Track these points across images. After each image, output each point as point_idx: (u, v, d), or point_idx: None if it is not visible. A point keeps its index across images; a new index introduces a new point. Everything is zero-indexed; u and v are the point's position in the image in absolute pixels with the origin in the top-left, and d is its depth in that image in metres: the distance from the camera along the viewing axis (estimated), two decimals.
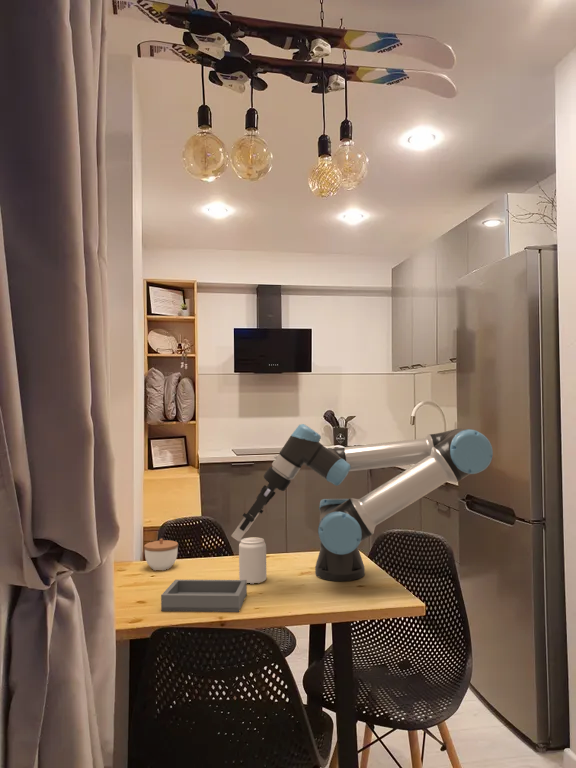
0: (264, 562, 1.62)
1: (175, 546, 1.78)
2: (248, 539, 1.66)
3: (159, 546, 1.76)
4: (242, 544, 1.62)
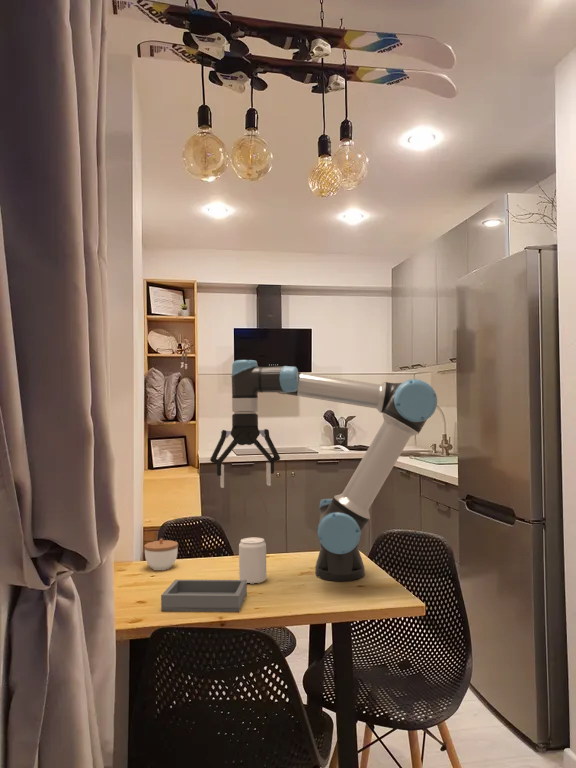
0: (264, 562, 1.62)
1: (175, 546, 1.78)
2: (248, 539, 1.66)
3: (159, 546, 1.76)
4: (242, 544, 1.62)
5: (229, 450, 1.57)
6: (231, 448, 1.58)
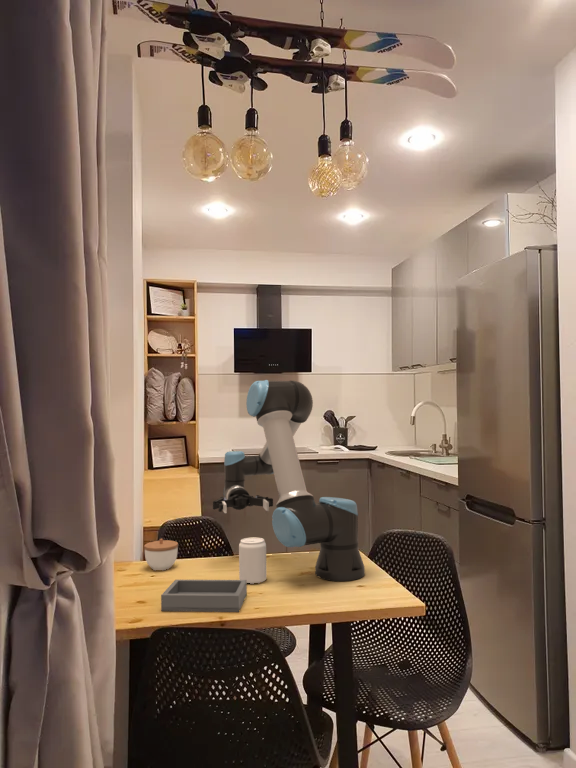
0: (264, 562, 1.62)
1: (175, 546, 1.78)
2: (248, 539, 1.66)
3: (159, 546, 1.76)
4: (242, 544, 1.62)
5: (228, 499, 1.84)
6: (229, 499, 1.85)
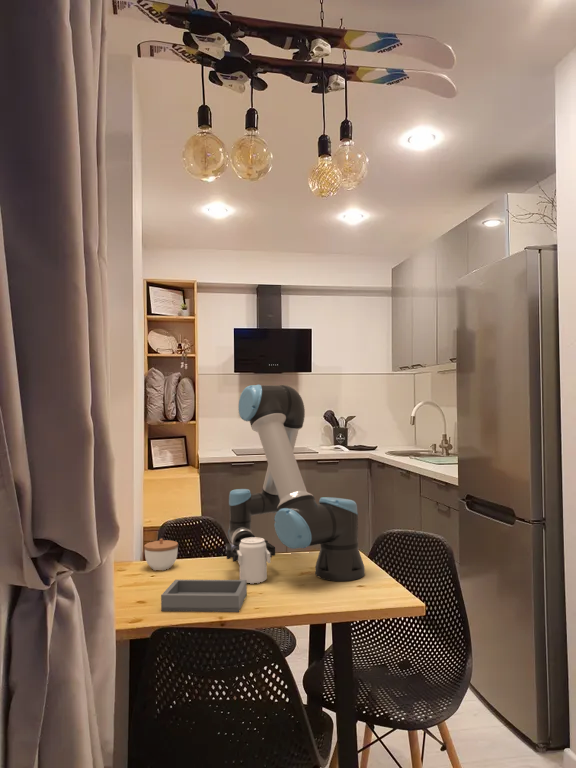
0: (264, 562, 1.62)
1: (175, 546, 1.78)
2: (248, 539, 1.66)
3: (159, 546, 1.76)
4: (242, 544, 1.62)
5: (238, 546, 1.70)
6: None
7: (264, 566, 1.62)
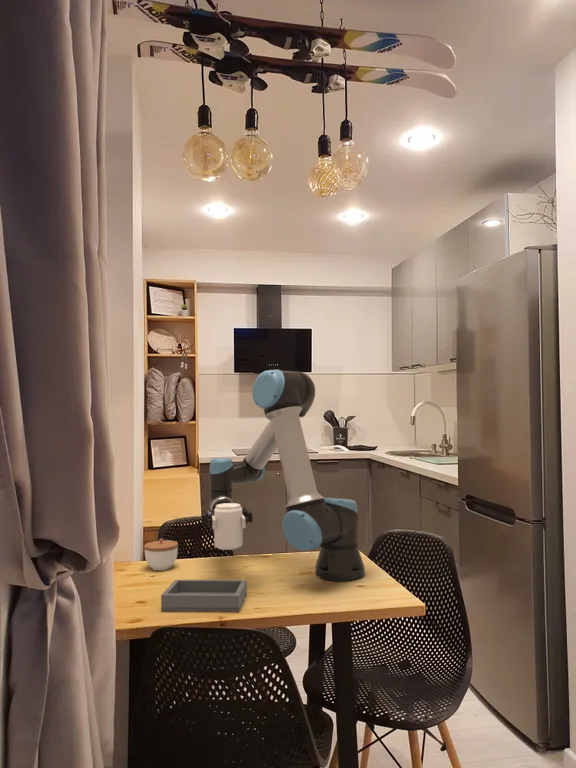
0: (240, 528, 1.56)
1: (175, 546, 1.78)
2: (224, 504, 1.61)
3: (159, 546, 1.76)
4: (217, 509, 1.56)
5: None
6: None
7: (239, 532, 1.56)
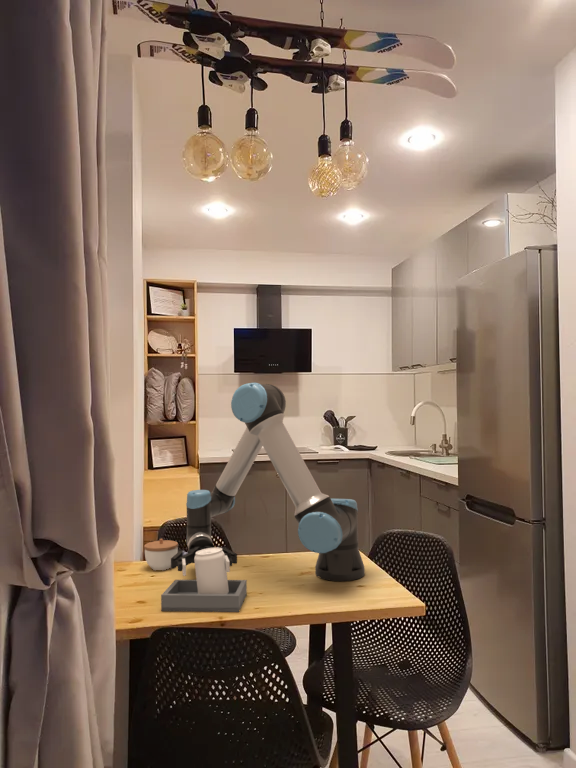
0: (224, 574, 1.45)
1: (175, 546, 1.78)
2: (204, 550, 1.49)
3: (159, 546, 1.76)
4: (198, 557, 1.44)
5: (188, 554, 1.52)
6: (190, 553, 1.52)
7: (225, 578, 1.45)
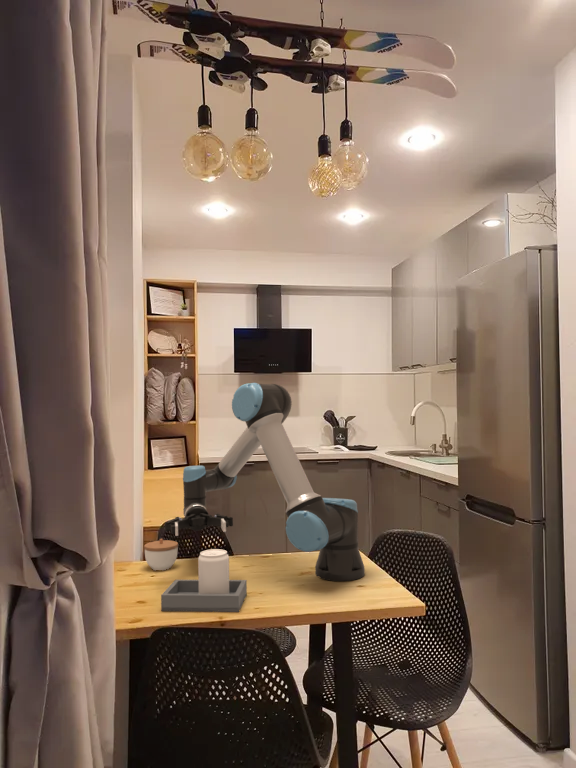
0: (227, 577, 1.45)
1: (175, 546, 1.78)
2: (208, 551, 1.48)
3: (159, 546, 1.76)
4: (202, 557, 1.44)
5: (182, 519, 1.66)
6: (184, 519, 1.67)
7: (227, 581, 1.45)
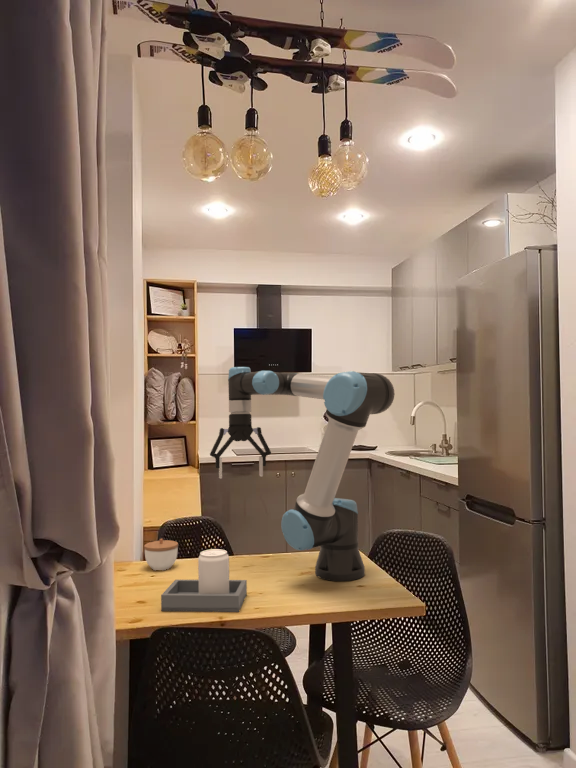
0: (227, 577, 1.45)
1: (175, 546, 1.78)
2: (208, 551, 1.48)
3: (159, 546, 1.76)
4: (202, 557, 1.44)
5: (226, 446, 1.81)
6: (228, 444, 1.81)
7: (227, 581, 1.45)
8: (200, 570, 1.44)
